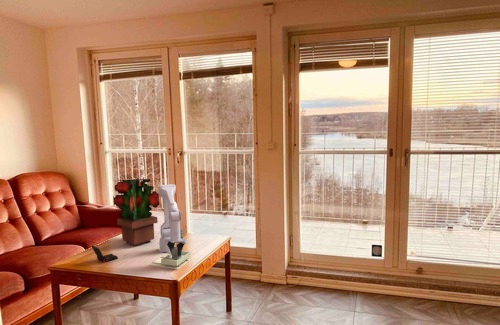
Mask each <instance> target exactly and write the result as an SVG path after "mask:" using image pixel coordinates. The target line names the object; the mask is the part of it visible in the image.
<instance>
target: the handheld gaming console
mask: <svg viewBox="0 0 500 325" xmlns="http://www.w3.org/2000/svg"><path fill="white" fill-rule="evenodd" d="M91 248H92V250H93V252H94V254H95V255H96V259H97V261H99V262H101V263H102V264H105V263H109V262H112V261H115V260H118V259H119V256H117V255H116V254H113V253H108V254H105V255H103V253H102V251H101V250H100V248H99V247H97V246H96V245H91Z"/></svg>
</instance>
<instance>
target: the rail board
mask: <svg viewBox="0 0 500 325" xmlns="http://www.w3.org/2000/svg"><path fill="white" fill-rule="evenodd" d="M166 256H167V255H166ZM166 256H164V255H163V256H161V257H160V258H157V259H156V260H154V261H152V262H150V263H149V266H150V267H157V268H164V269H165V268H167V269H173V270H179V269H181V267H184V265H186V264H187V263H189V262H190V261H191V259H190V258H188V259H187V260H185V261H183V262H182V263H181V264H179V265H178V266H173V265H166V264H161V259H162V258H164V257H166Z"/></svg>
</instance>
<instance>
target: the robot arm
mask: <svg viewBox="0 0 500 325" xmlns="http://www.w3.org/2000/svg"><path fill="white" fill-rule="evenodd" d="M158 186H159V187H158V194H159V198H162V200H163V216H164V222H163V223H162V224H161V225H160V238H159V240H158V241H159V243H158V244H159V250H158V251H159V252H160V253H161V252H162V253H169V254H171V255H172V248H173V247H175V246H176V247H177V249H178V256H180V255H181V252H182V251H183V248H184V246H185V245H187V244H188V239H185V238H184V239H181V236H182V234H180V233H181V232H180V231H181V230H180V229H181V221H182V220H181V219H182V214H181V211H180V209H179V208H178V204H177V202H176V201H175V197H174V196H175V194H176V193H177V187H176V184H175V183H172V184H160V185H158Z"/></svg>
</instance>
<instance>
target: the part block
mask: <svg viewBox="0 0 500 325" xmlns="http://www.w3.org/2000/svg"><path fill="white" fill-rule="evenodd" d="M181 257H182V254H181V255H180V256H178V249H177V246H176V245H175V247H173V248H172V259H179V258H181Z"/></svg>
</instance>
